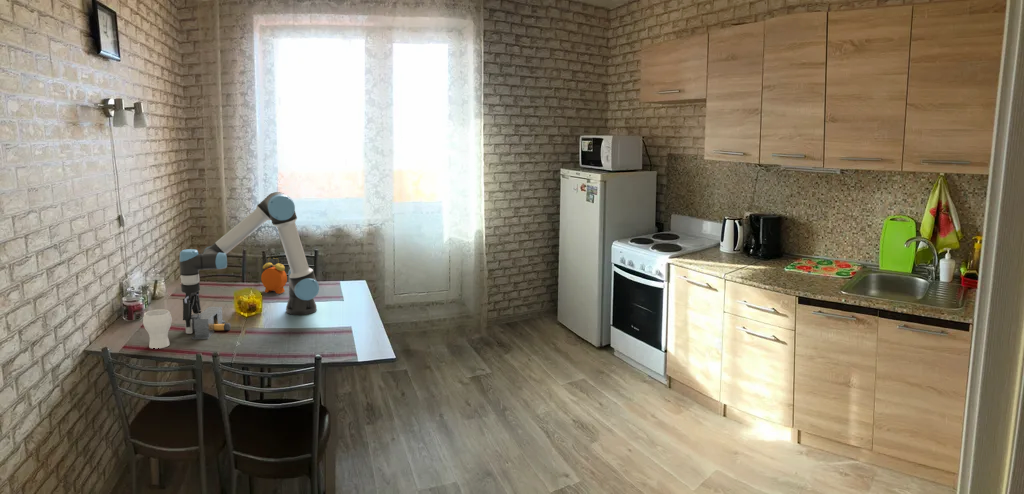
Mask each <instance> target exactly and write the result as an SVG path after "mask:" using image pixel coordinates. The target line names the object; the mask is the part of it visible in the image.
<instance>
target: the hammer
mask: <svg viewBox="0 0 1024 494" xmlns="http://www.w3.org/2000/svg"><path fill="white" fill-rule="evenodd" d="M197 316H198V315H191V319H192V327H193V333H195V328H194V319H195V318H196V317H197ZM231 325H232V324H231V322H225V323H224V324H214V331H230V330H231V327H232V326H231Z"/></svg>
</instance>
